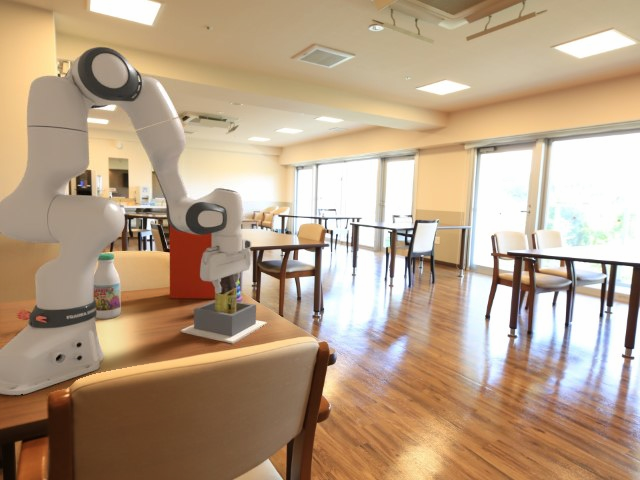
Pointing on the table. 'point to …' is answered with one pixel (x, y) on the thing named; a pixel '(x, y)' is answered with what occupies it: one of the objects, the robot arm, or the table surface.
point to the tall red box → (188, 266)
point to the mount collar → (224, 322)
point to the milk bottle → (107, 288)
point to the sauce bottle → (226, 296)
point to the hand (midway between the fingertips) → (226, 289)
